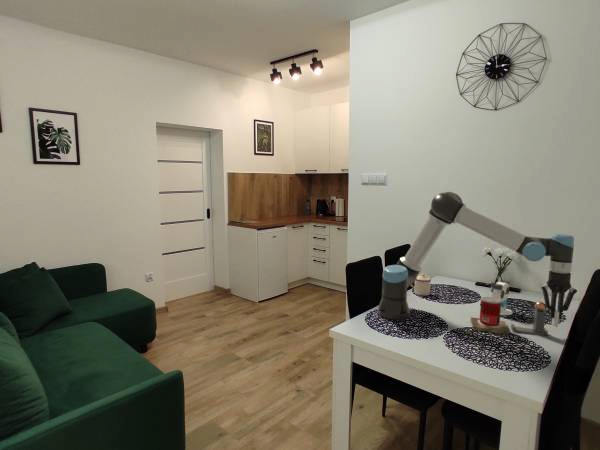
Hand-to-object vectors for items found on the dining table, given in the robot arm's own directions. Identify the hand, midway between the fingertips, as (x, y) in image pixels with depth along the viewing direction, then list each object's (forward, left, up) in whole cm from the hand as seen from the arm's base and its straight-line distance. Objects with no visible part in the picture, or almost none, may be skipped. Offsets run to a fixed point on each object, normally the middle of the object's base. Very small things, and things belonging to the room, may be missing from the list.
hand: (554, 325), depth 157 cm
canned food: (-25, 0, -3) cm, 25 cm away
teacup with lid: (-56, +43, -5) cm, 71 cm away
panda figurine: (-17, +25, -5) cm, 31 cm away
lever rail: (-9, 0, -4) cm, 10 cm away
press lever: (-6, 0, -3) cm, 7 cm away
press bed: (-25, 0, -4) cm, 25 cm away
